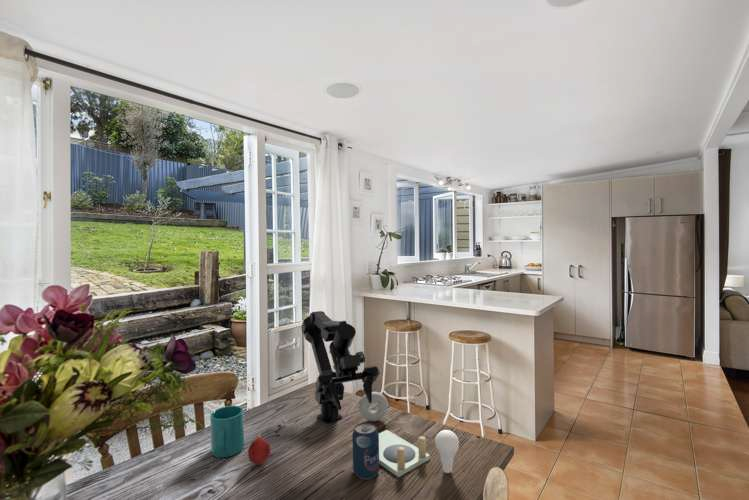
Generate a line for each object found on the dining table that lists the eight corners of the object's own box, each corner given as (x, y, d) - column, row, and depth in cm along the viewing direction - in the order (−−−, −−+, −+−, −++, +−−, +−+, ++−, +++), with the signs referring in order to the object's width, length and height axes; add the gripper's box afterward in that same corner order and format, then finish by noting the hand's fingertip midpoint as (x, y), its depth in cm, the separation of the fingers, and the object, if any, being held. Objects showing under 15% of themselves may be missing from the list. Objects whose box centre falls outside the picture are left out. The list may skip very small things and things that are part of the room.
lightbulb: (454, 483, 93) (454, 439, 93) (431, 475, 96) (431, 433, 96) (462, 470, 98) (462, 429, 98) (440, 462, 101) (440, 423, 101)
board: (356, 447, 109) (356, 427, 109) (387, 433, 117) (386, 414, 117) (398, 477, 96) (397, 453, 95) (429, 459, 103) (429, 437, 103)
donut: (359, 424, 123) (358, 394, 123) (359, 419, 127) (358, 390, 126) (389, 422, 124) (388, 393, 124) (388, 418, 127) (387, 389, 127)
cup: (203, 466, 102) (202, 426, 101) (216, 442, 113) (215, 406, 113) (238, 463, 103) (236, 423, 102) (247, 440, 115) (246, 404, 114)
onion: (250, 473, 98) (249, 443, 98) (247, 462, 103) (246, 433, 103) (272, 467, 101) (271, 438, 101) (268, 456, 106) (267, 428, 106)
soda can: (370, 484, 93) (369, 437, 93) (347, 475, 97) (347, 430, 96) (384, 469, 99) (383, 425, 98) (362, 461, 103) (361, 418, 102)
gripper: (316, 347, 106) (329, 399, 96) (375, 339, 114) (393, 386, 104) (310, 367, 113) (321, 418, 103) (366, 358, 121) (382, 404, 111)
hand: (355, 406), depth 105 cm, fingers open, 9 cm apart
